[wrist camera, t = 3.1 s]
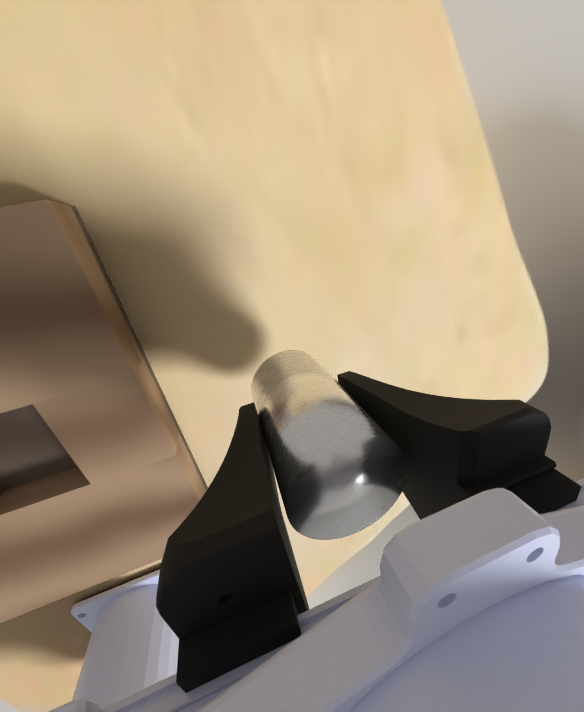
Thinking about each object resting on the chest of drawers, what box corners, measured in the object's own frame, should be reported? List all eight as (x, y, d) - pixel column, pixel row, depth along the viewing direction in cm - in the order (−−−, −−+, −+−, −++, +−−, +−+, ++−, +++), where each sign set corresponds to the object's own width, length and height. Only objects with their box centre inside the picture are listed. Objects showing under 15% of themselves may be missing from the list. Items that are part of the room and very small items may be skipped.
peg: (329, 404, 16) (408, 509, 10) (261, 427, 15) (300, 557, 9) (318, 340, 14) (406, 417, 8) (242, 363, 13) (272, 468, 7)
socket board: (215, 504, 21) (216, 536, 18) (6, 584, 18) (-22, 632, 16) (75, 206, 12) (45, 199, 10) (-350, 283, 10) (-513, 295, 8)
